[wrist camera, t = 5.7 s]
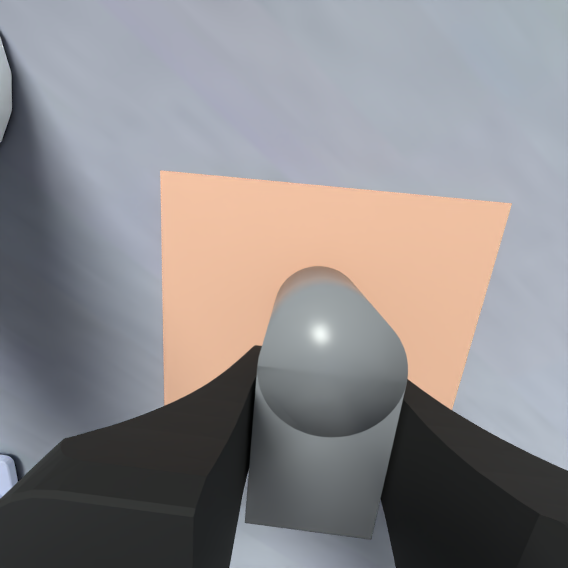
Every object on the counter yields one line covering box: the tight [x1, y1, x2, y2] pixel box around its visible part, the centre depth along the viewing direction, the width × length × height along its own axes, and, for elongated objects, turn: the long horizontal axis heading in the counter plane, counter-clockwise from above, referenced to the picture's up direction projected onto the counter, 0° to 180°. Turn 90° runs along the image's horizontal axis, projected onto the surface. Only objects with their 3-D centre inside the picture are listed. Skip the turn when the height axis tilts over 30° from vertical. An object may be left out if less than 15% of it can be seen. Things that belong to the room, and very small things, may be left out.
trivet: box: [160, 171, 512, 410], centre depth 13 cm, size 14×14×1 cm
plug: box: [245, 266, 408, 539], centre depth 10 cm, size 4×9×5 cm, turn 175°
